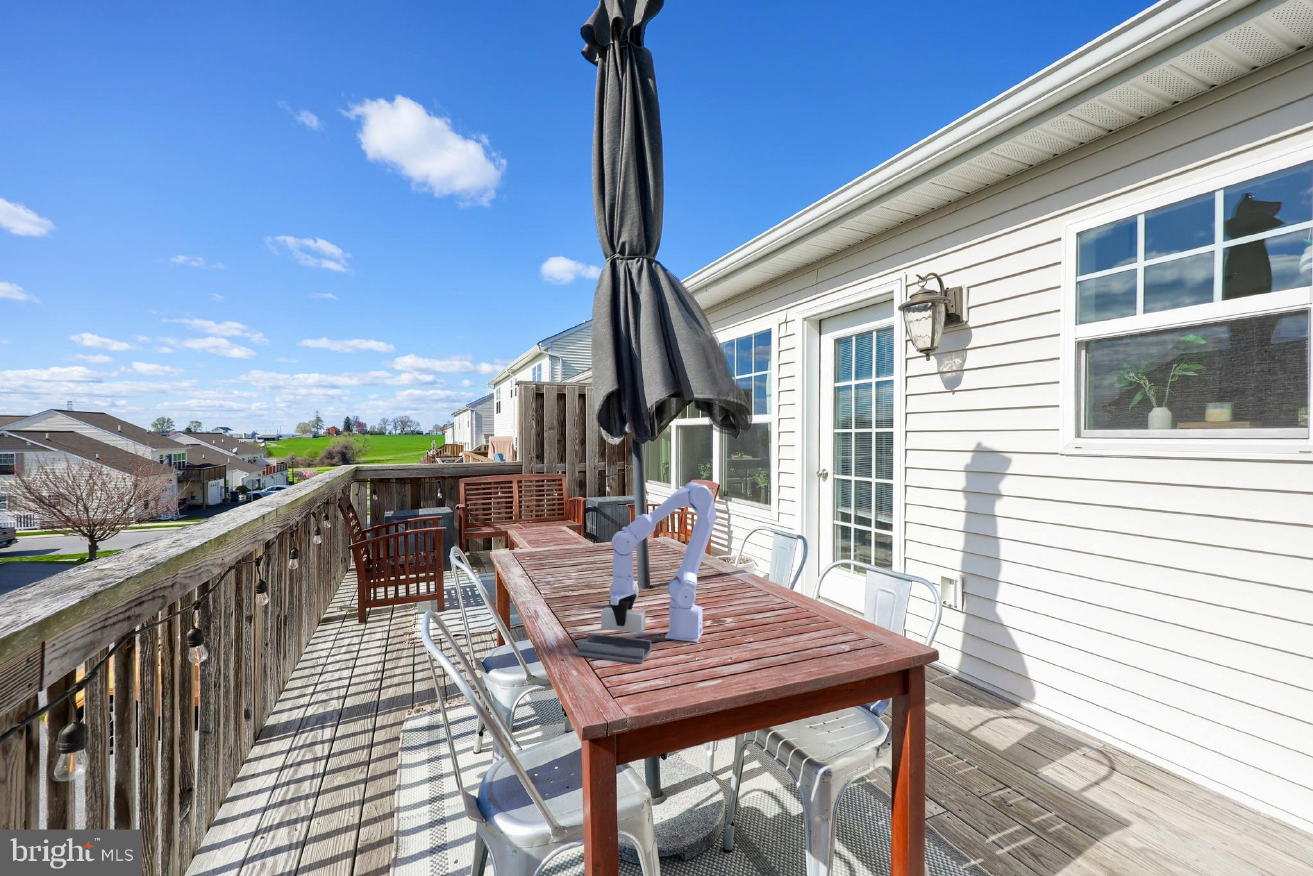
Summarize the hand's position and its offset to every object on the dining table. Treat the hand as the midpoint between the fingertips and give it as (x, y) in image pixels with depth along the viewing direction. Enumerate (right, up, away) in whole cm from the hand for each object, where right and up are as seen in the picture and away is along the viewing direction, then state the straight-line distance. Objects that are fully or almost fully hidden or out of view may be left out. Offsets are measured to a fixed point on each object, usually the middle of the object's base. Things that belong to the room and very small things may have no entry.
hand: (623, 623), depth 152 cm
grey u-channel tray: (-2, -5, -9) cm, 10 cm away
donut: (-2, -5, +30) cm, 30 cm away
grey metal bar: (0, -2, 0) cm, 2 cm away
